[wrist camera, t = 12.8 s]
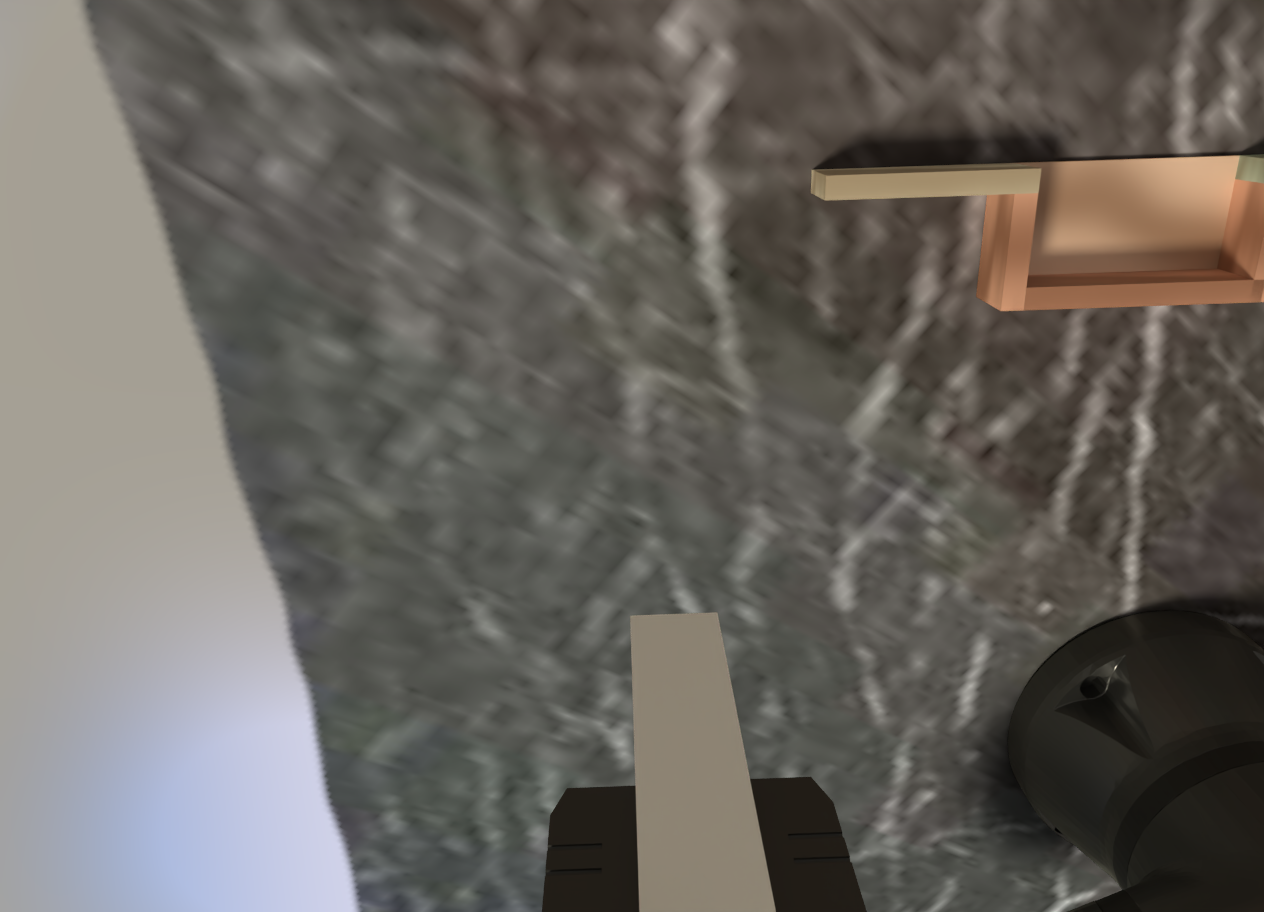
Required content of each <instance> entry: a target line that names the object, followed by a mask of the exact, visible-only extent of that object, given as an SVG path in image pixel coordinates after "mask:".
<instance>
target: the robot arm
mask: <svg viewBox="0 0 1264 912" xmlns="http://www.w3.org/2000/svg"><path fill="white" fill-rule="evenodd" d="M630 622H631V655H632V687H633V719H634V752H635V784H636V786H617V787H590V788H567V789H566V791H565V792H564V794H563V796H562V797H561V799H560V801H559V802H558V804H557V805H556V807H555V809H554V810H553V812H552V813H551V815H550V826H549V837H548V851H547V860H546V876H545V883H544V895H543V906H542V912H867V911H866V908H865V905H864V902H863V898H862V895H861V892H860V889H859V885H858V882H857V879H856V876H855V872H854V869H853V866H852V862H850V856H849V853H848V849H847V846H846V843H845V840H844V838H843V836H842V830H841V827H840V823H839V820H838V817H837V813H836V810H835V807H834V804H833V802H832V800H831V799H830V798H829V797H828V796H827V795H826V794H825V792H824V791H823V790H822V789H821V788H820V787H819V786H818V785H817V783H816V782H815V781H814V780H813V779H812V778H811V777H796V778H770V779H750V777H749V772H748V767H747V762H746V757H745V751H744V746H743V741H742V736H741V731H740V726H739V721H738V716H737V711H736V706H735V701H734V695H733V690H732V685H731V680H730V675H729V670H728V665H727V660H726V655H725V650H724V644H723V639H722V634H721V629H720V624H719V619H718V614H717V613H691V614H663V615H636V616H630ZM1008 754H1009V760H1010V764H1011V768H1012V770H1013V773H1014V775H1015V778H1016V779H1017V781H1018V783H1019V785H1020V787H1021V788H1022V790H1023V792H1024V794H1025V795H1026V797H1027V799H1028V800H1029V802H1030V804H1031V805H1032V807H1033V808H1034V810H1035V812H1036V813H1037V814H1038V815H1039V817H1040V818H1041V819H1042V820H1043V821H1044V822H1045V823H1046V824H1047V825H1048V826H1049V827H1050V828H1051V829H1052V830H1053V831H1054V832H1056V833H1057V834H1058V835H1060V836H1061V837H1062V838H1064V839H1065V840H1066V841H1068V842H1069V843H1071V844H1073V845H1075V846H1076V847H1077V848H1078V849H1080V850H1081V851H1082V852H1083V853H1084V854H1085V855H1086V856H1087V857H1089V858H1090V859H1091V860H1092V861H1093V862H1094V863H1095V864H1097V865H1098V866H1099V867H1100V868H1101V869H1102V870H1104V871H1105V872H1106V873H1107V874H1108V875H1109V876H1111V877H1112V878H1113V879H1114V880H1115V881H1116V882H1117V883H1118V884H1119V886H1120V887H1121V889H1122V891H1119V892H1117V893H1114V894H1112V895H1109V896H1107V897H1104V898H1102V899H1100V900H1097V901H1095V902H1094V901H1093V902H1090V903H1088V904H1085V905H1083V906H1080V907H1078V908H1075V909H1073V910H1070V911H1068V912H1264V650H1263V649H1262V648H1261V647H1260V646H1259V645H1258V644H1257V643H1255V642H1254V641H1253V640H1252V639H1251V638H1250V637H1249V636H1247V635H1246V634H1245V633H1244V632H1242V631H1241V630H1239V629H1238V628H1236V627H1234V626H1233V625H1231V624H1229V623H1227V622H1225V621H1223V620H1220V619H1217V618H1215V617H1211V616H1208V615H1204V614H1199V613H1194V612H1186V611H1154V612H1147V613H1141V614H1136V615H1131V616H1127V617H1123V618H1120V619H1117V620H1114V621H1111V622H1109V623H1106V624H1103V625H1101V626H1099V627H1097V628H1094V629H1092V630H1090V631H1088V632H1087V633H1085V634H1083V635H1081V636H1079V637H1078V638H1076V639H1074V640H1073V641H1071V642H1070V643H1069V644H1067V645H1066V646H1064V647H1063V648H1062V649H1060V650H1059V651H1058V652H1057V653H1055V654H1054V655H1053V656H1052V657H1051V658H1050V659H1049V660H1048V661H1047V662H1046V663H1045V664H1044V665H1043V666H1042V667H1041V668H1040V669H1039V670H1038V671H1037V672H1036V674H1035V675H1034V676H1033V677H1032V679H1031V680H1030V681H1029V683H1028V684H1027V686H1026V687H1025V689H1024V690H1023V692H1022V694H1021V696H1020V698H1019V700H1018V702H1017V704H1016V706H1015V709H1014V712H1013V714H1012V718H1011V721H1010V726H1009V732H1008Z"/></svg>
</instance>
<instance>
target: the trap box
mask: <svg viewBox="0 0 1264 912" xmlns="http://www.w3.org/2000/svg"><path fill="white" fill-rule="evenodd" d="M811 193H812V194H814V195H816V196H818V197H820V198H821V199H823V200H853V199H882V198H911V197H941V196H970V195H987V201H986V210H985V219H984V229H983V238H982V247H981V257H980V266H979V275H978V285H977V294H976V297H977V298H979V299H981V300H983V301H984V302H986V303H988V304H989V305H991V306H993V307H995V308H996V309H998V310H1000V311H1019V310H1047V309H1076V308H1105V307H1134V306H1162V305H1191V304H1220V303H1249V302H1264V154H1259V155H1230V156H1200V157H1171V158H1141V159H1112V160H1082V161H1053V162H1023V163H994V164H965V165H935V166H906V167H876V168H847V169H817V170H812V177H811Z"/></svg>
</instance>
